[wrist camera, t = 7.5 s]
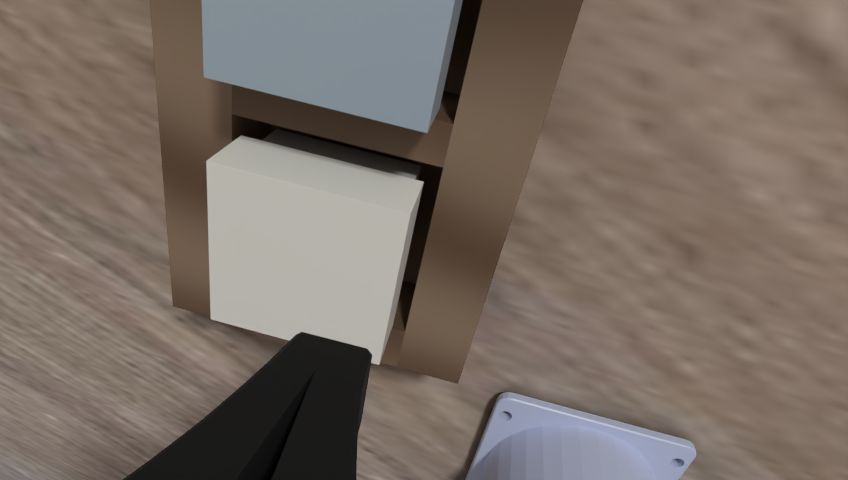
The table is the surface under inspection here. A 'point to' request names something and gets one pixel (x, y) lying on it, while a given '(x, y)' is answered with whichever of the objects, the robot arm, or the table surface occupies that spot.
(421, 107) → the slate key
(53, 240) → the table surface
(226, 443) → the robot arm
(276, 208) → the ivory key
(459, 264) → the brown long flat frame
